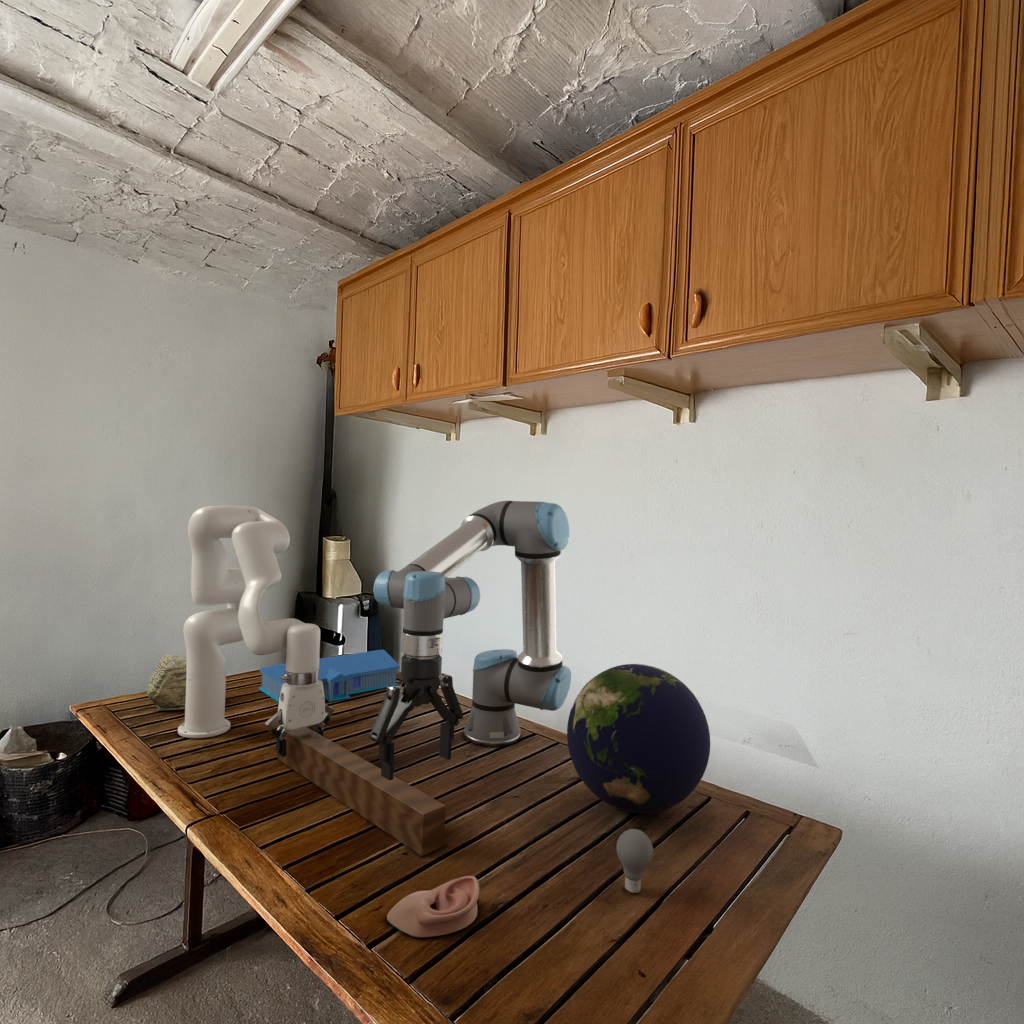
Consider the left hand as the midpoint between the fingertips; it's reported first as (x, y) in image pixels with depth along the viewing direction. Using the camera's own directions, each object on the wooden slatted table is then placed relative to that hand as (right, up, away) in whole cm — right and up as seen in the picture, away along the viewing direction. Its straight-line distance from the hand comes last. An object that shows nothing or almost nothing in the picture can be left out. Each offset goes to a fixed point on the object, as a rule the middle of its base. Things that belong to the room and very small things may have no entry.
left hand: (299, 749), depth 150 cm
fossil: (-46, -1, +35) cm, 58 cm away
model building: (-9, -2, +58) cm, 59 cm away
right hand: (+32, +8, -31) cm, 45 cm away
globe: (+76, -7, -14) cm, 78 cm away
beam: (+16, -4, -15) cm, 22 cm away
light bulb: (+70, -7, -44) cm, 83 cm away
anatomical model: (+38, -6, -52) cm, 65 cm away
